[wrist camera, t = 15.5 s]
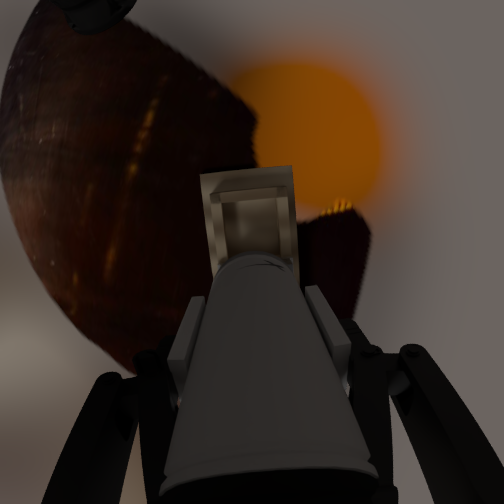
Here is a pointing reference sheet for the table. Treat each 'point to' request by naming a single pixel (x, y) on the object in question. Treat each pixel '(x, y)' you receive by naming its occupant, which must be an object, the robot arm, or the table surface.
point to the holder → (250, 213)
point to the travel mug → (264, 401)
